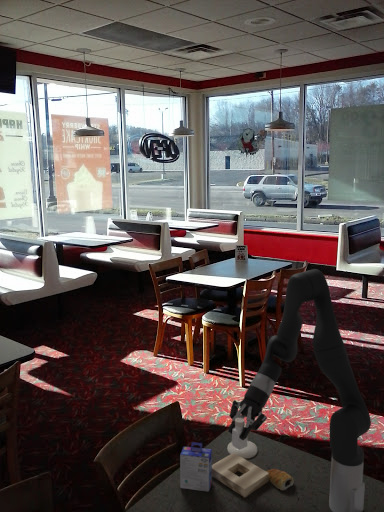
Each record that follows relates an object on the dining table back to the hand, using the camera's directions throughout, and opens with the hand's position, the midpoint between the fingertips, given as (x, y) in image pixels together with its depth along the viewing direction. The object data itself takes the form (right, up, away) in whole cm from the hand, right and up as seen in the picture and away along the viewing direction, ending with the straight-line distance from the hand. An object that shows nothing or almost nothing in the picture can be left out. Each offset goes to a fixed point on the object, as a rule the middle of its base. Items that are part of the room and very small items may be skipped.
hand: (235, 435), depth 162 cm
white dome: (+4, -13, +20) cm, 24 cm away
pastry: (+15, -17, +2) cm, 22 cm away
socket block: (+1, -16, +4) cm, 16 cm away
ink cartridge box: (-13, -17, +1) cm, 21 cm away
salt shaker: (+1, -4, +2) cm, 5 cm away
